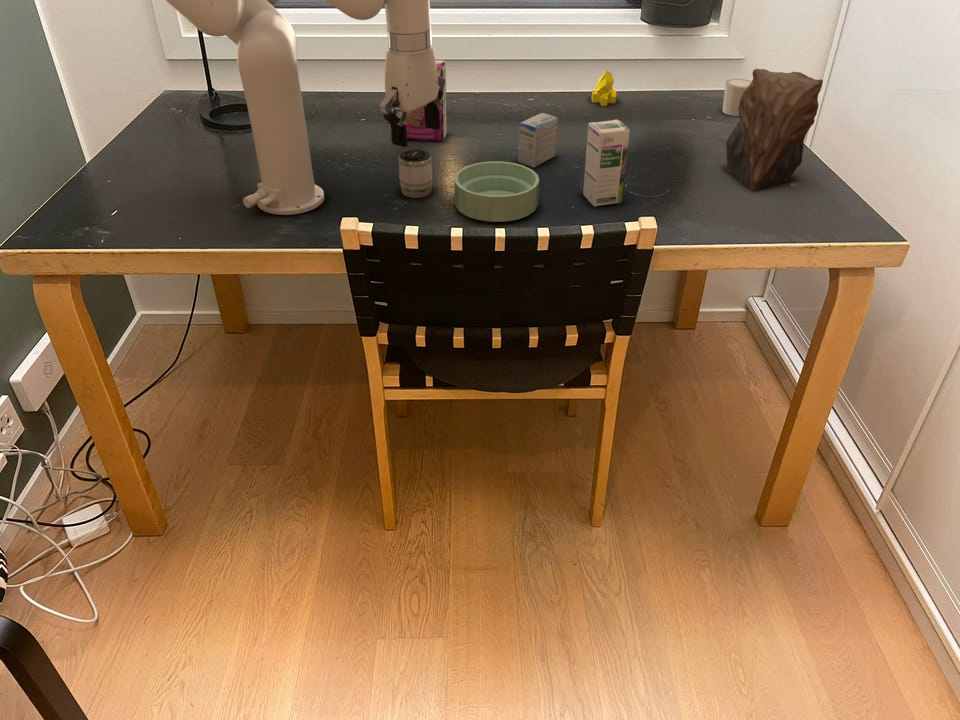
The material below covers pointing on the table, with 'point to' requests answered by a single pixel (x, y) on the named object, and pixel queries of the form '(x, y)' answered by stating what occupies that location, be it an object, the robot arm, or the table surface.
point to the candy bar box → (417, 116)
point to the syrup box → (605, 162)
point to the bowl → (496, 191)
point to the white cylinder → (734, 95)
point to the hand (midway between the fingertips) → (416, 136)
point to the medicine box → (537, 139)
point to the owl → (772, 127)
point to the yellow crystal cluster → (604, 90)
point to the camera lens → (415, 173)
